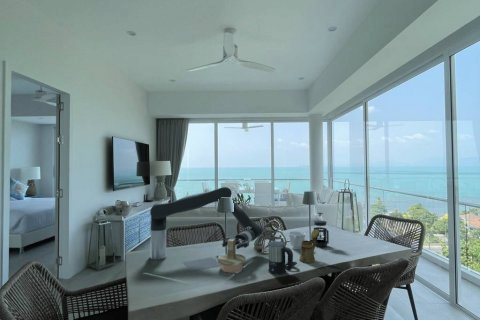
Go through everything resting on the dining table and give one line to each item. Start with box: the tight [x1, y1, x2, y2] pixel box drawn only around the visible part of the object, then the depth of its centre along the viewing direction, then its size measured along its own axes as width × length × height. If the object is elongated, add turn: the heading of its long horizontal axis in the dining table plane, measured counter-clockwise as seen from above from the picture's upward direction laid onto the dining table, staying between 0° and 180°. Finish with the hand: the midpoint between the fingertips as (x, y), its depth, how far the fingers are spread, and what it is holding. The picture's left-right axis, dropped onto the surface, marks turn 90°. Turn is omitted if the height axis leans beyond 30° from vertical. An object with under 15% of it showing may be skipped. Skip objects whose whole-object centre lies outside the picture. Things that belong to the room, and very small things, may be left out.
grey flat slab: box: [182, 256, 221, 273], centre depth 154 cm, size 18×16×1 cm
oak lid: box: [217, 238, 246, 266], centre depth 147 cm, size 15×15×11 cm
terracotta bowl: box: [220, 263, 244, 275], centre depth 147 cm, size 11×11×5 cm
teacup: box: [287, 231, 307, 250], centre depth 184 cm, size 12×15×10 cm
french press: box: [313, 212, 330, 249], centre depth 190 cm, size 12×9×23 cm
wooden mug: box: [299, 229, 320, 264], centre depth 162 cm, size 9×14×18 cm, turn 116°
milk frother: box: [267, 240, 298, 275], centre depth 147 cm, size 14×16×15 cm
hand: (229, 246), depth 145 cm, fingers open, 8 cm apart
